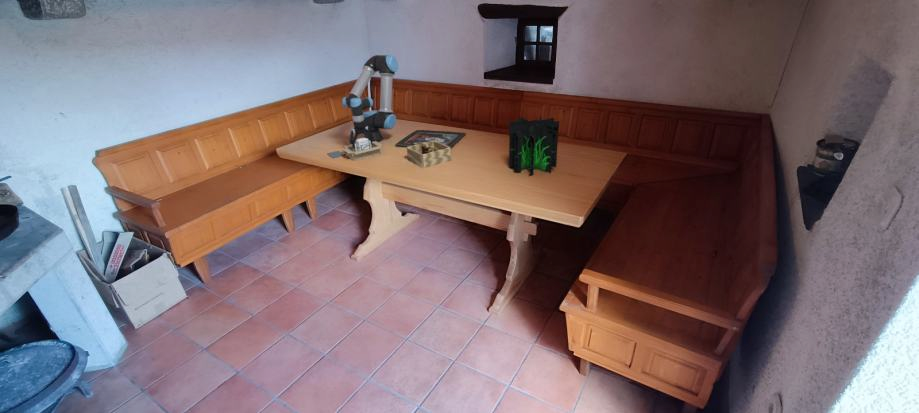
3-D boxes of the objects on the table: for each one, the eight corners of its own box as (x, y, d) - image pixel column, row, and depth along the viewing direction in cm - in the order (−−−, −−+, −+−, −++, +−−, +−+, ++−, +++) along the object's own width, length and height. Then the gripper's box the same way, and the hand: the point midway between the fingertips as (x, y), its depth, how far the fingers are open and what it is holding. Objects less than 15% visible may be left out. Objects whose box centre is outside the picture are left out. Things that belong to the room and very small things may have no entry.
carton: (373, 147, 324) (372, 139, 321) (387, 154, 307) (386, 146, 304) (340, 154, 310) (339, 147, 308) (352, 163, 294) (351, 155, 291)
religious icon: (450, 151, 308) (450, 147, 306) (395, 147, 322) (394, 144, 320) (467, 135, 342) (467, 131, 340) (416, 132, 356) (416, 129, 354)
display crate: (435, 152, 308) (434, 140, 303) (452, 160, 291) (451, 147, 287) (406, 159, 296) (405, 147, 292) (423, 168, 280) (421, 155, 276)
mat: (338, 151, 318) (338, 150, 318) (344, 155, 309) (344, 154, 309) (327, 154, 313) (326, 153, 313) (332, 158, 304) (332, 157, 304)
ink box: (360, 157, 304) (358, 141, 299) (356, 155, 307) (354, 140, 302) (370, 153, 310) (368, 138, 305) (366, 152, 313) (364, 137, 308)
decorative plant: (564, 171, 265) (567, 124, 251) (520, 178, 258) (521, 130, 244) (543, 156, 290) (545, 113, 276) (502, 162, 283) (502, 118, 269)
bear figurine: (440, 161, 290) (439, 144, 285) (418, 163, 289) (416, 146, 283) (438, 155, 302) (437, 138, 297) (417, 156, 301) (415, 140, 295)
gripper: (371, 116, 306) (375, 146, 316) (341, 122, 294) (346, 153, 304) (375, 118, 300) (379, 148, 310) (345, 125, 289) (350, 155, 299)
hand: (363, 150), depth 307 cm, fingers open, 10 cm apart
